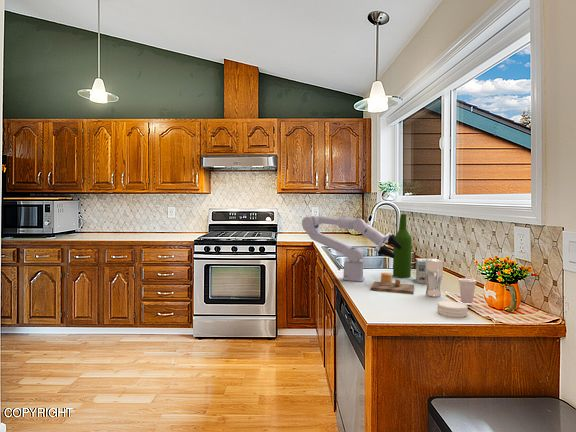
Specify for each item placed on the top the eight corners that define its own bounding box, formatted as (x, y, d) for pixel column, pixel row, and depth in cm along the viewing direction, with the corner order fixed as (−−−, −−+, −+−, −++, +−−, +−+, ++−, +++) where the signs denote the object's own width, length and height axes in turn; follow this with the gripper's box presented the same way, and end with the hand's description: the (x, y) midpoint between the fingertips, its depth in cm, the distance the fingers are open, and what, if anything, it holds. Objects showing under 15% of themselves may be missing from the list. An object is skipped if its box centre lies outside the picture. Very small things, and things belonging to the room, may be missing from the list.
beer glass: (441, 294, 170) (442, 259, 170) (442, 298, 164) (443, 261, 163) (424, 292, 173) (425, 258, 172) (424, 296, 166) (425, 260, 165)
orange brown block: (380, 283, 190) (380, 274, 190) (381, 281, 194) (381, 272, 194) (390, 284, 188) (391, 275, 188) (391, 282, 193) (391, 273, 192)
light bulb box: (432, 284, 191) (433, 261, 191) (417, 283, 192) (418, 261, 192) (429, 279, 202) (429, 258, 201) (415, 278, 203) (416, 257, 202)
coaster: (473, 315, 140) (473, 305, 140) (456, 319, 135) (456, 309, 135) (448, 308, 149) (448, 299, 149) (431, 312, 143) (431, 302, 143)
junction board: (370, 290, 176) (370, 280, 176) (374, 283, 189) (374, 275, 189) (413, 293, 170) (413, 284, 170) (414, 287, 183) (414, 278, 183)
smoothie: (454, 302, 157) (455, 267, 156) (470, 302, 157) (471, 267, 157) (463, 306, 151) (464, 270, 150) (479, 306, 151) (480, 270, 150)
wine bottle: (396, 273, 215) (398, 213, 214) (413, 276, 210) (414, 214, 209) (390, 276, 208) (392, 214, 207) (407, 278, 203) (409, 214, 201)
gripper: (370, 238, 186) (394, 255, 182) (384, 222, 196) (407, 239, 192) (364, 247, 191) (388, 264, 187) (378, 232, 201) (401, 248, 197)
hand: (397, 252), depth 190 cm, fingers open, 7 cm apart
